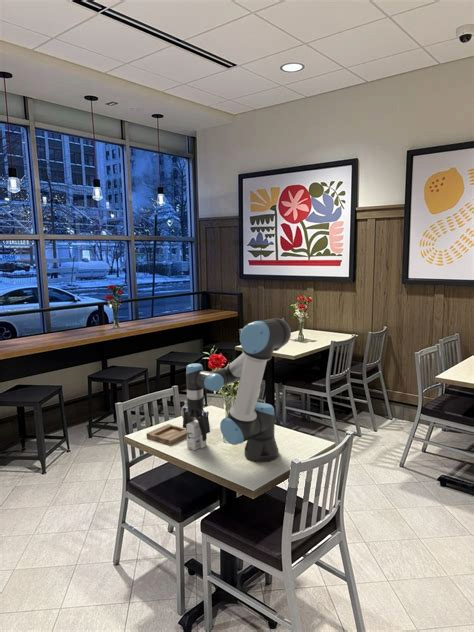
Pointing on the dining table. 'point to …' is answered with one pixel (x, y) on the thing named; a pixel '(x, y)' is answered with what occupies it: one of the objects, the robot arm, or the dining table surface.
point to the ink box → (193, 435)
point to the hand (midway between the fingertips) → (196, 444)
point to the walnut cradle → (168, 434)
